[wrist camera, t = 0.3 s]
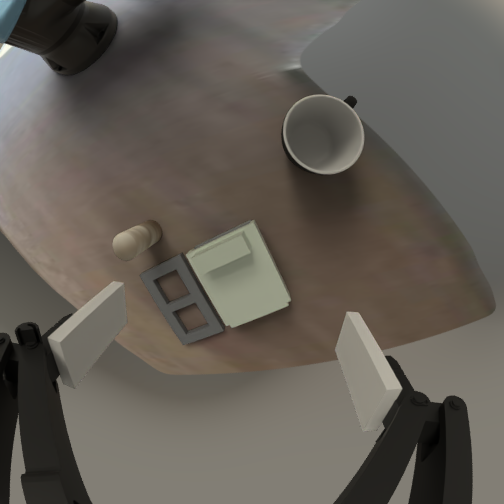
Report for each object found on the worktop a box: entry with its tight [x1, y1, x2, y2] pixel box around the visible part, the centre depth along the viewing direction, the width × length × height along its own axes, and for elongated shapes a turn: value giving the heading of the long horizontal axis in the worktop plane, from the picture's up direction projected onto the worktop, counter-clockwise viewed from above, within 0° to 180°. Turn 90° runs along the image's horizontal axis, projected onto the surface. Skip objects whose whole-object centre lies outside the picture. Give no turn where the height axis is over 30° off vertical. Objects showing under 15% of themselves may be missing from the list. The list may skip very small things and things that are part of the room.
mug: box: [281, 95, 364, 175], centre depth 31 cm, size 12×9×10 cm
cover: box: [186, 220, 291, 328], centre depth 37 cm, size 13×10×5 cm
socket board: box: [140, 253, 225, 345], centre depth 43 cm, size 14×8×1 cm, turn 26°
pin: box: [113, 220, 162, 261], centre depth 36 cm, size 4×4×9 cm
